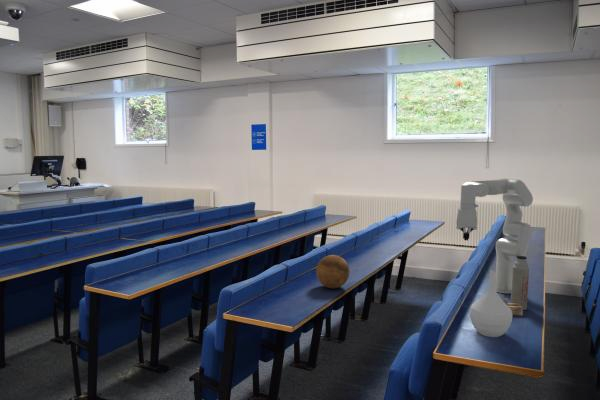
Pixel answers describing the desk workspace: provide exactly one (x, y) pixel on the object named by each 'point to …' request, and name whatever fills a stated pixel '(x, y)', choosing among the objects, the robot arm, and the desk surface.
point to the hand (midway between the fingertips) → (466, 239)
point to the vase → (491, 312)
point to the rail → (515, 308)
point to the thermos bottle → (520, 282)
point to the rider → (504, 300)
